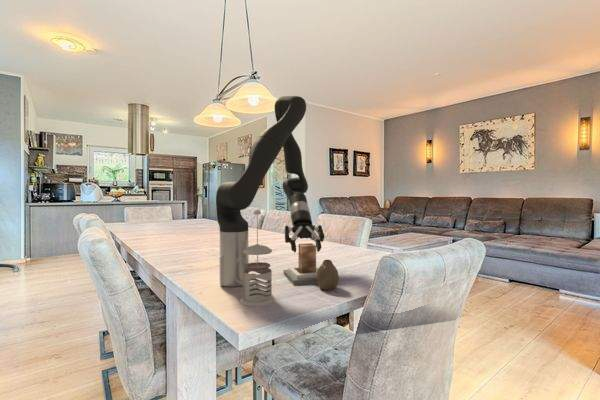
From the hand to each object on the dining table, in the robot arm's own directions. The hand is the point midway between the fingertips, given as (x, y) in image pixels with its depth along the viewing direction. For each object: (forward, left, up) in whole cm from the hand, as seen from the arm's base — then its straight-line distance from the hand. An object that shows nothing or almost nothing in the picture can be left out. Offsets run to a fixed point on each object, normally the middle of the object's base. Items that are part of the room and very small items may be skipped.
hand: (307, 250), depth 109 cm
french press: (-21, -18, -10) cm, 29 cm away
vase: (+2, -14, -10) cm, 17 cm away
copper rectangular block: (0, -1, -8) cm, 8 cm away
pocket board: (0, -1, -9) cm, 9 cm away
